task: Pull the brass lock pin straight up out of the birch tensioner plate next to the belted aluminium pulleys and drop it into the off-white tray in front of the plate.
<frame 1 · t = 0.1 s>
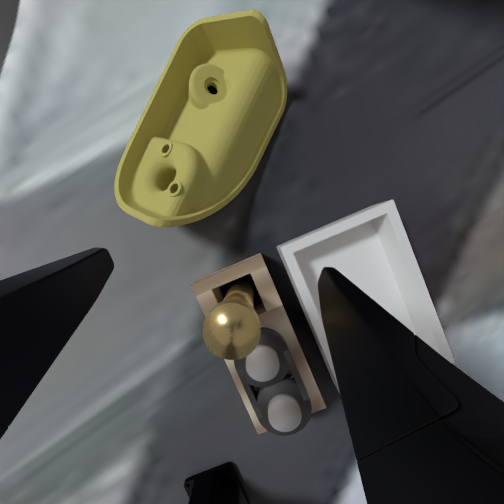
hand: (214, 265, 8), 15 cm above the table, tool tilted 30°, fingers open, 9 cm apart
tensioner plate: (259, 333, 24), on the table
lock pin: (241, 292, 23), resting in tensioner plate
plastic component: (205, 146, 23), on the table
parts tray: (351, 295, 23), on the table
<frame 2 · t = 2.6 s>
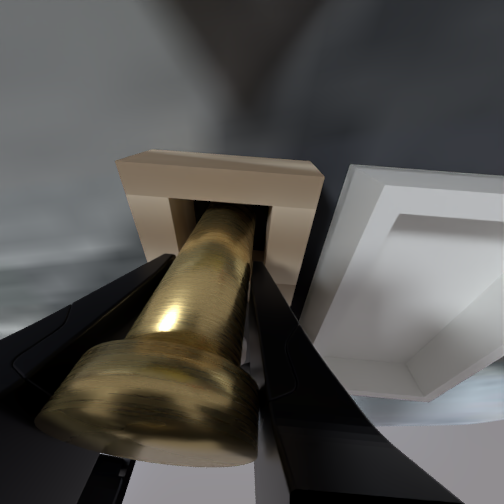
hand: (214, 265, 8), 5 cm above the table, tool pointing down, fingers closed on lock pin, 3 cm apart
tensioner plate: (231, 283, 15), on the table
lock pin: (231, 218, 12), resting in tensioner plate, touching gripper
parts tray: (387, 296, 15), on the table
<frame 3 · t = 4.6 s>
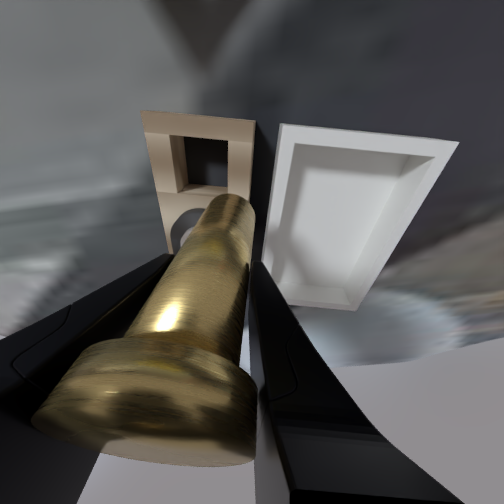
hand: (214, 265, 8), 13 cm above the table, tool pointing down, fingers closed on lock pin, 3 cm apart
tensioner plate: (211, 216, 21), on the table
lock pin: (230, 217, 12), point 9 cm above the table, touching gripper
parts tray: (321, 227, 21), on the table
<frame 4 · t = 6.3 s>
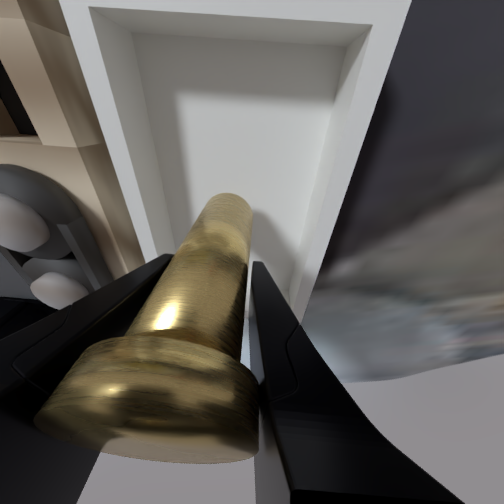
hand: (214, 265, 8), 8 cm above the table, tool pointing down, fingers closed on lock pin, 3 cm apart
tensioner plate: (76, 187, 14), on the table
lock pin: (228, 217, 12), point 3 cm above the table, touching gripper
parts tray: (237, 200, 14), on the table
when the fingers open (7 cm above the table, at t = 6.8 s): lock pin drops 2 cm, resting on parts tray.
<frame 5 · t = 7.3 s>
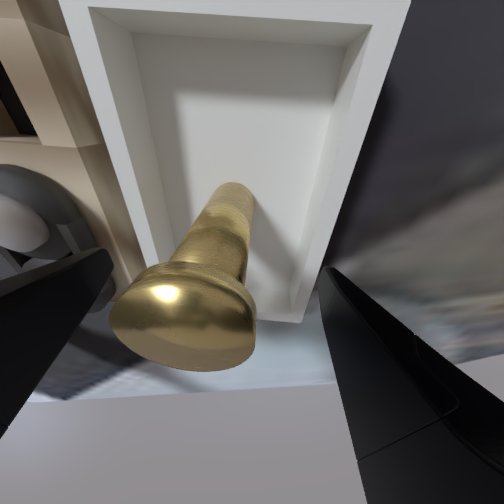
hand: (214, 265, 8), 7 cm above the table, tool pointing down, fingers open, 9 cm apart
tensioner plate: (76, 187, 14), on the table
lock pin: (233, 203, 14), point 1 cm above the table, touching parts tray
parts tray: (237, 200, 14), on the table
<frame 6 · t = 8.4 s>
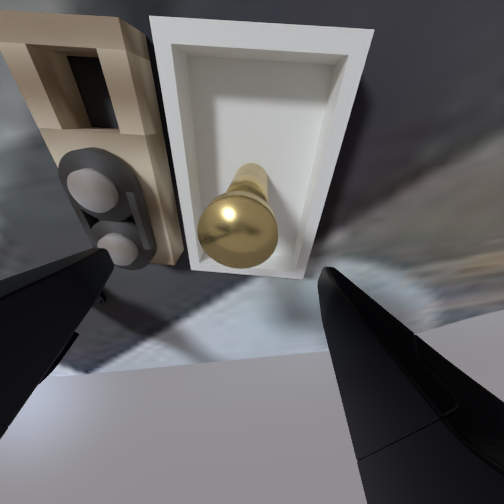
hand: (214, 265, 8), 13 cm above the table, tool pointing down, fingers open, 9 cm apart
tensioner plate: (128, 169, 19), on the table
lock pin: (251, 180, 18), point 1 cm above the table, touching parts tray
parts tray: (253, 179, 18), on the table
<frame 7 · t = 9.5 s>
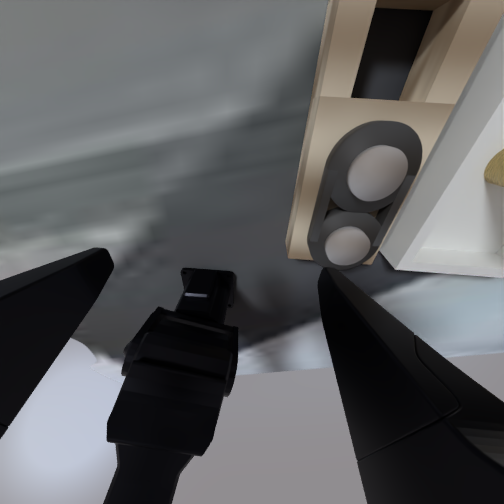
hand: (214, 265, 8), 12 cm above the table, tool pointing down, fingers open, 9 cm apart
tensioner plate: (350, 152, 16), on the table
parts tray: (500, 162, 16), on the table
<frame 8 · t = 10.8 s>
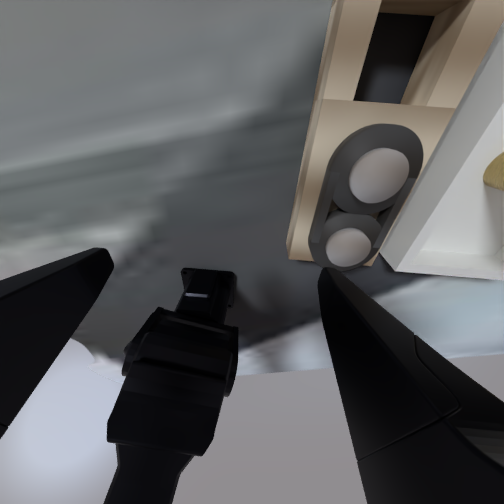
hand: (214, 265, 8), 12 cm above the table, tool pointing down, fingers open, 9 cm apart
tensioner plate: (352, 155, 16), on the table
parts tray: (498, 166, 16), on the table
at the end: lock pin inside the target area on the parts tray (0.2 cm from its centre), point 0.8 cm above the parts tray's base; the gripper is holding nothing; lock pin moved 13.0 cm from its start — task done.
